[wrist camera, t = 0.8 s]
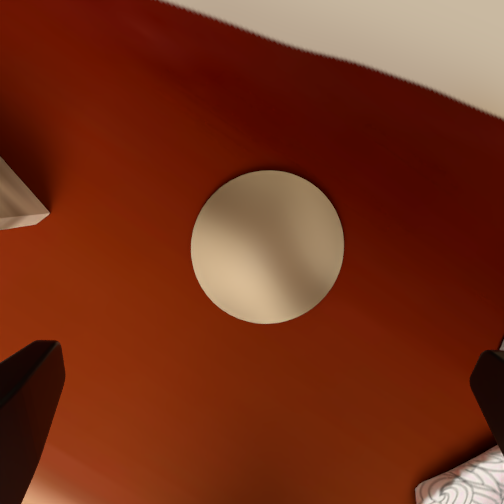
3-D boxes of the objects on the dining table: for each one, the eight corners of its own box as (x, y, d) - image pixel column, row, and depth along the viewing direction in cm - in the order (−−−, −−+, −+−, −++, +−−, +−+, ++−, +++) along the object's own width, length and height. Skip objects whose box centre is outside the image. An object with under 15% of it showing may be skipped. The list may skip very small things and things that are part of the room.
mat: (290, 346, 23) (292, 349, 22) (162, 275, 21) (161, 276, 21) (369, 222, 22) (372, 223, 22) (243, 139, 21) (243, 138, 20)
